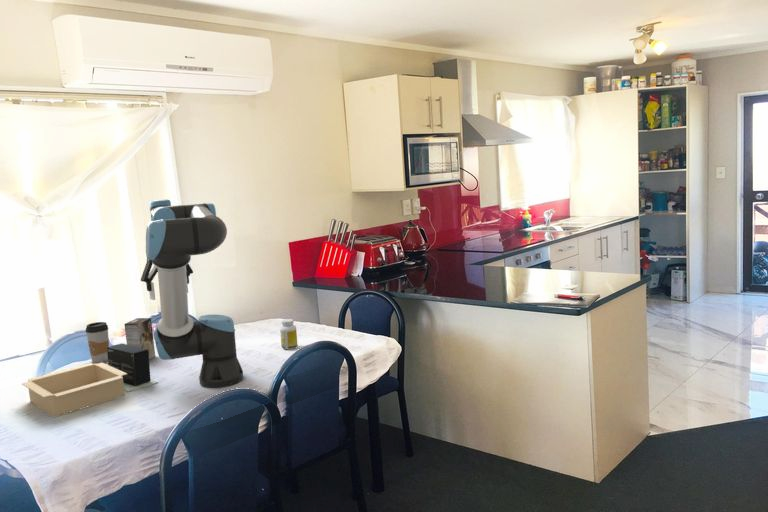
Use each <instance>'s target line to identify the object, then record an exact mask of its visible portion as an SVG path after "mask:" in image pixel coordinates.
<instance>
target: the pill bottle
mask: <svg viewBox="0 0 768 512" xmlns="http://www.w3.org/2000/svg"><path fill="white" fill-rule="evenodd" d="M281 325H282V326H281V327H280V328H279V329H280V343H281V349H282V348H283V349H282V350H285V349H291V350H294V348H295V349H297V348H298V346H299V345H298V333H297V327H296V325H294V319H293V318H285V319H282V320H281ZM296 347H297V348H296Z"/></svg>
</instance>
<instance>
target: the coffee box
mask: <svg viewBox="0 0 768 512" xmlns="http://www.w3.org/2000/svg"><path fill="white" fill-rule="evenodd" d="M124 331H125V340H126V344H127V345H131V346H135V347H140V348H144V349H148V350H149V360H151V359H152V358H154V357H156V350H155V339H154V333H153V324H152V318H151V317H137V318H135V319H133V320H129V321H128V322H126V323H124Z"/></svg>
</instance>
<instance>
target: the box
mask: <svg viewBox="0 0 768 512" xmlns="http://www.w3.org/2000/svg"><path fill="white" fill-rule="evenodd" d="M107 355H108V361H107V365H109V366H111V367H114V368H116V369H118V370H120V371H123V372H125V373H127V375H123V382H124V383H127V384H131V385H134V386H137V385H140V384H143V383H146V382H149V381H151V379H152V378H151V368H150V367H151V366H150V359H149V350H148V349H144V348H140V347H135V346H131V345H127V343H118V344H114V345H109V347H107Z"/></svg>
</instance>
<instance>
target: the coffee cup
mask: <svg viewBox="0 0 768 512" xmlns="http://www.w3.org/2000/svg"><path fill="white" fill-rule="evenodd" d="M85 333H86V336H87V338H86V339H87V344H88V348H89V349H88V350H89V353H90V354H89V355H90V357H91V361H92V363H93V362H94V363H93V364H98V363H106V362H108V355H107V347H109V346H110V339H109V325H108V324H107V322H105V321H99V322H93V323H87V324H86V327H85Z"/></svg>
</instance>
